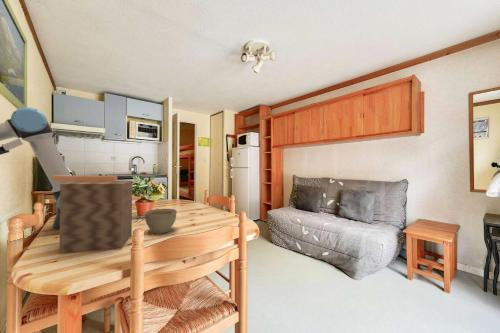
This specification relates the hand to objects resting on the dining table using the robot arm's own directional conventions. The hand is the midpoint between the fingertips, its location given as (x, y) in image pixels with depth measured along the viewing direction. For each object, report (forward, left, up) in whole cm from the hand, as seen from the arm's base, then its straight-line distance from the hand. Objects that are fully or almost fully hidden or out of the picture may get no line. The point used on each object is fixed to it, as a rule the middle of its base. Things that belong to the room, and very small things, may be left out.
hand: (8, 139), depth 91 cm
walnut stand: (+29, +20, -46) cm, 58 cm away
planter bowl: (+40, +45, -46) cm, 76 cm away
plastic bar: (+22, +18, -18) cm, 33 cm away
